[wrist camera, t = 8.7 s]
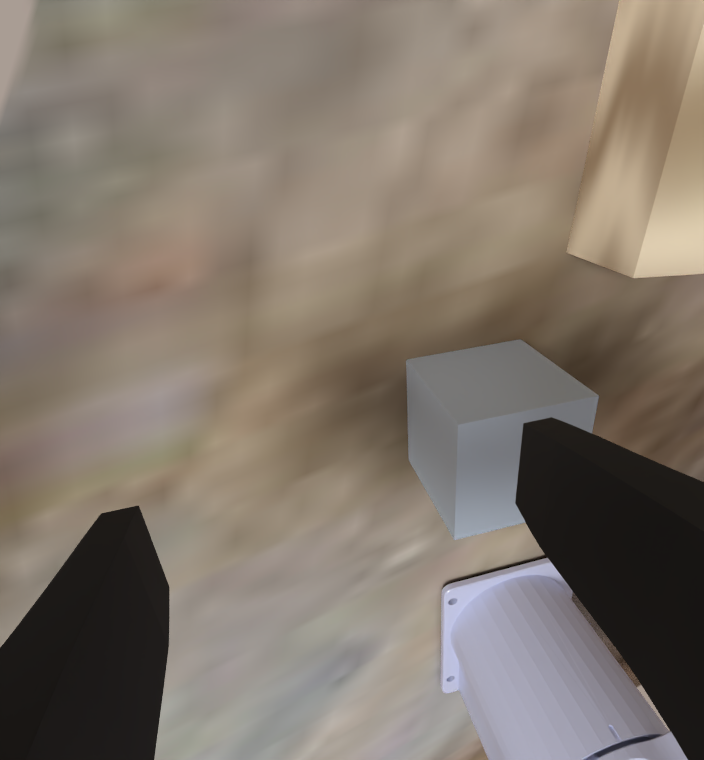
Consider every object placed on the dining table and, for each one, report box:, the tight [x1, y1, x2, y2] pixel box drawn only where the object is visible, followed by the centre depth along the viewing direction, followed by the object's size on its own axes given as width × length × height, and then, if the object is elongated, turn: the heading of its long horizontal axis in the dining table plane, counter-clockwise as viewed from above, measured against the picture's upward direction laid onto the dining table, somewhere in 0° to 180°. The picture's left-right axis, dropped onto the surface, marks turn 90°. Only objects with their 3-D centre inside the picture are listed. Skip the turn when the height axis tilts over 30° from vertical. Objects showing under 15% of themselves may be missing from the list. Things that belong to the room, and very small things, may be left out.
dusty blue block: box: [406, 339, 599, 540], centre depth 19 cm, size 5×5×5 cm
